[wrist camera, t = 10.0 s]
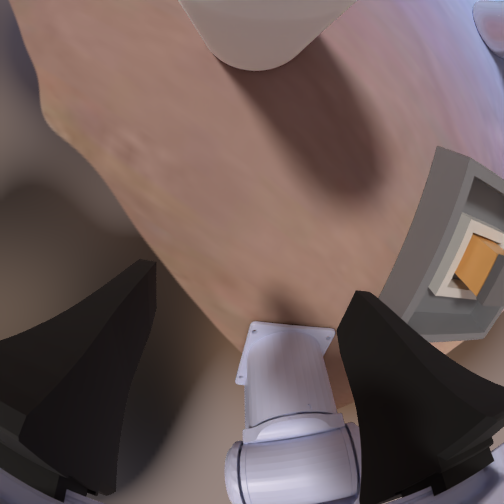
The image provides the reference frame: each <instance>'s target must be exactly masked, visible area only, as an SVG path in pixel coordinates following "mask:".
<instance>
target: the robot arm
mask: <svg viewBox="0 0 504 504" xmlns="http://www.w3.org/2000/svg"><path fill="white" fill-rule="evenodd" d="M156 308H157V307H156V262H153V261H147V260H142V259H139V260H138V261H136V262H135V263H133V264H132V265H131V266H129V267H128V268H127V269H125V270H124V271H123V272H121V273H120V274H119V275H117V276H116V277H115V278H113V279H112V280H111V281H109V282H108V283H107V284H105V285H104V286H103V287H101V288H100V289H98V290H97V291H95V292H94V293H92V294H91V295H90V296H88V297H86V298H85V299H84V300H82V301H81V302H79V303H78V304H76V305H74V306H73V307H71V308H70V309H68V310H66V311H64V312H63V313H61V314H59V315H57V316H55V317H54V318H52V319H50V320H48V321H46V322H44V323H41V324H39V325H37V326H35V327H33V328H31V329H29V330H27V331H25V332H22V333H19V334H17V335H14V336H12V337H9V338H6V339H3V340H1V341H0V504H104V503H102V502H99V501H96V500H93V499H90V498H87V497H86V495H87V493H90V494H92V495H95V496H97V495H98V493H100V494H103V495H110V494H112V493H114V492H116V475H117V461H118V452H119V443H120V436H121V430H122V424H123V418H124V412H125V407H126V402H127V398H128V393H129V390H130V386H131V383H132V380H133V377H134V374H135V371H136V369H137V366H138V363H139V361H140V358H141V355H142V353H143V350H144V347H145V345H146V342H147V340H148V337H149V334H150V331H151V328H152V324H153V319H154V316H155V312H156ZM253 330H256V331H253ZM334 335H335V331H334V329H333V328H322V327H309V326H298V325H287V324H277V323H268V322H259V321H254V322H252V323H251V324H250V327H249V331H248V334H247V338H246V342H245V346H244V349H243V353H242V357H241V360H240V364H239V368H238V372H237V375H236V379H235V383H236V384H240V385H245V428H246V429H243V441H236V442H235V443H234V444H233V446H232V447H231V448H230V449H229V451H228V453H227V455H226V460H225V483H226V489H227V493H228V496H229V499H230V501H231V502H232V504H382V503H385V502H388V501H391V500H394V499H397V498H400V497H402V498H400V499H397V500H395V501H392V502H389V503H386V504H504V443H503V444H501V445H500V446H498V447H497V448H495V449H494V450H493V451H490V448H489V447H490V446H491V445H492V444H493V439H492V436H493V435H494V434H495V433H497V432H498V431H499V430H500V429H501V428H502V427H504V387H503V386H501V385H498V384H495V383H493V382H491V381H489V380H487V379H484V378H482V377H480V376H478V375H476V374H475V373H473V372H471V371H469V370H468V369H466V368H464V367H463V366H461V365H459V364H458V363H456V362H455V361H453V360H452V359H450V358H449V357H447V356H446V355H445V354H443V353H442V352H441V351H439V350H438V349H437V348H435V347H434V346H433V345H431V344H430V343H429V342H428V341H427V340H425V339H424V338H423V337H422V336H421V335H419V334H418V333H417V332H416V331H415V330H414V329H412V328H411V327H410V326H409V325H408V324H407V323H406V322H405V321H404V320H402V319H401V318H400V317H399V316H398V315H397V314H396V313H395V312H393V311H392V310H391V309H390V308H389V307H388V306H387V305H386V304H384V303H383V302H382V301H381V300H380V299H378V298H377V297H376V296H374V295H373V294H372V293H370V292H365V291H357V290H356V291H355V294H354V296H353V298H352V300H351V302H350V304H349V306H348V308H347V310H346V312H345V314H344V316H343V318H342V320H341V322H340V324H339V326H338V328H337V336H338V343H339V348H340V354H341V357H342V361H343V364H344V367H345V371H346V374H347V377H348V380H349V384H350V387H351V391H352V394H353V397H354V401H355V405H356V410H357V416H358V423H359V426H357V425H355V423H353V422H350V423H346V424H344V419H343V415H342V413H337V409H336V405H335V401H334V397H333V393H332V389H331V385H330V381H329V377H328V374H327V370H326V366H325V362H324V359H323V356H324V354H325V352H326V350H327V348H328V347H329V345H330V343H331V341H332V339H333V337H334ZM328 336H329V337H328Z"/></svg>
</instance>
